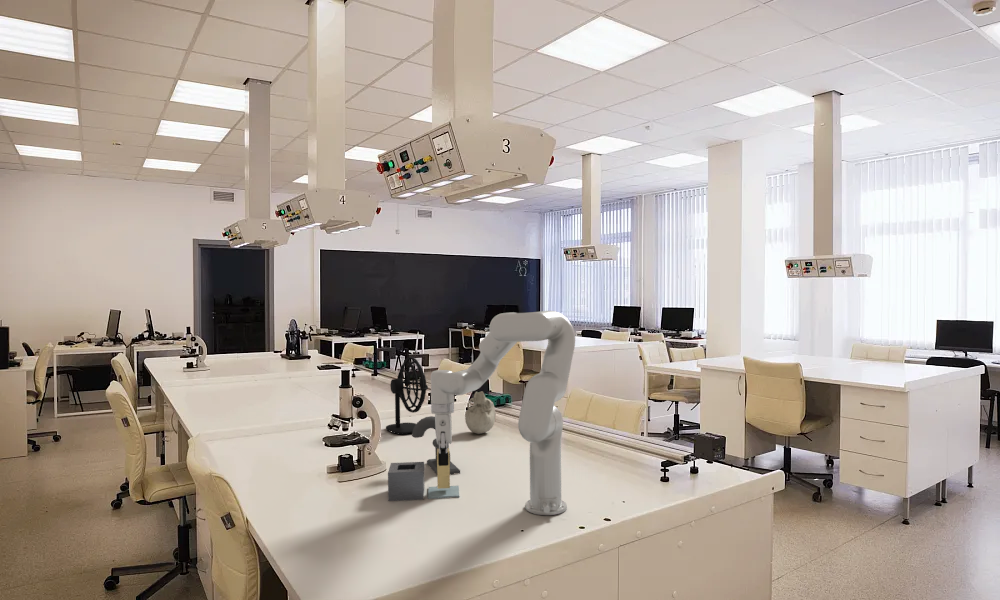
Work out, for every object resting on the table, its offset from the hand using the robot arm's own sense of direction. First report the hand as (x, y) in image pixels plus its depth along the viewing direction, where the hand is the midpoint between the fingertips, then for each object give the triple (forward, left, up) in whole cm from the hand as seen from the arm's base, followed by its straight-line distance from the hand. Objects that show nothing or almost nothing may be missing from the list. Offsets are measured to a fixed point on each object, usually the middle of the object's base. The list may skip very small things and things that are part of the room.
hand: (443, 462), depth 197 cm
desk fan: (+93, +18, -10) cm, 95 cm away
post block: (0, +12, -10) cm, 16 cm away
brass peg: (0, 0, -8) cm, 8 cm away
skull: (+82, -17, -10) cm, 84 cm away
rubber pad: (0, 0, -10) cm, 10 cm away
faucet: (+27, +4, -10) cm, 29 cm away
